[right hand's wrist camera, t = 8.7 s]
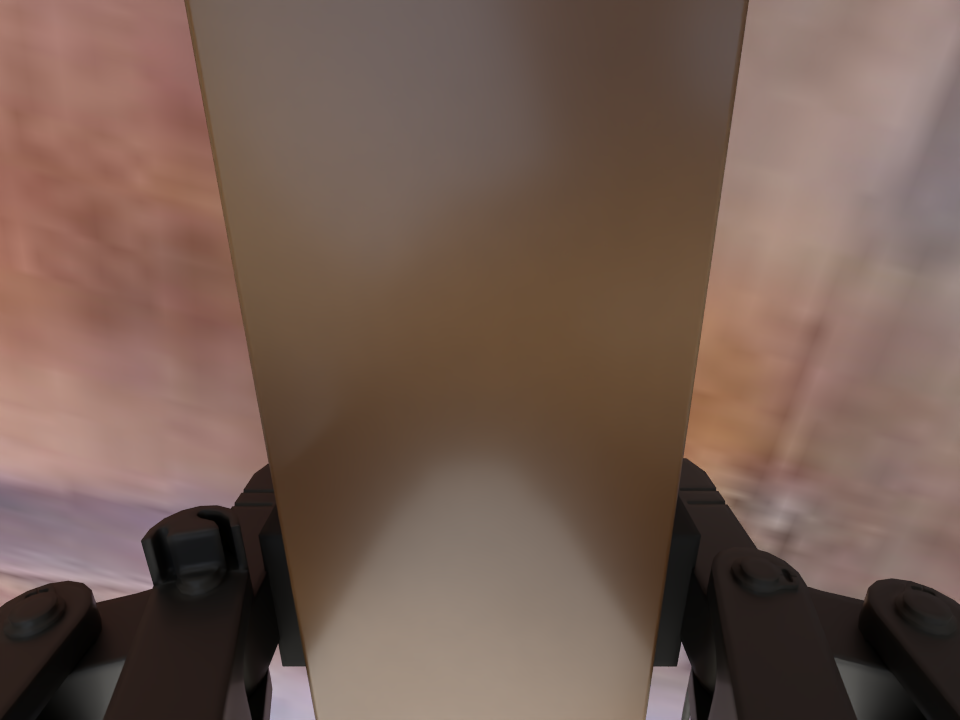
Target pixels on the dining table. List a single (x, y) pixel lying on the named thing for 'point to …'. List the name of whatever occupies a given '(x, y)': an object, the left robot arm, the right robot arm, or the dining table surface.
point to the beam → (472, 328)
